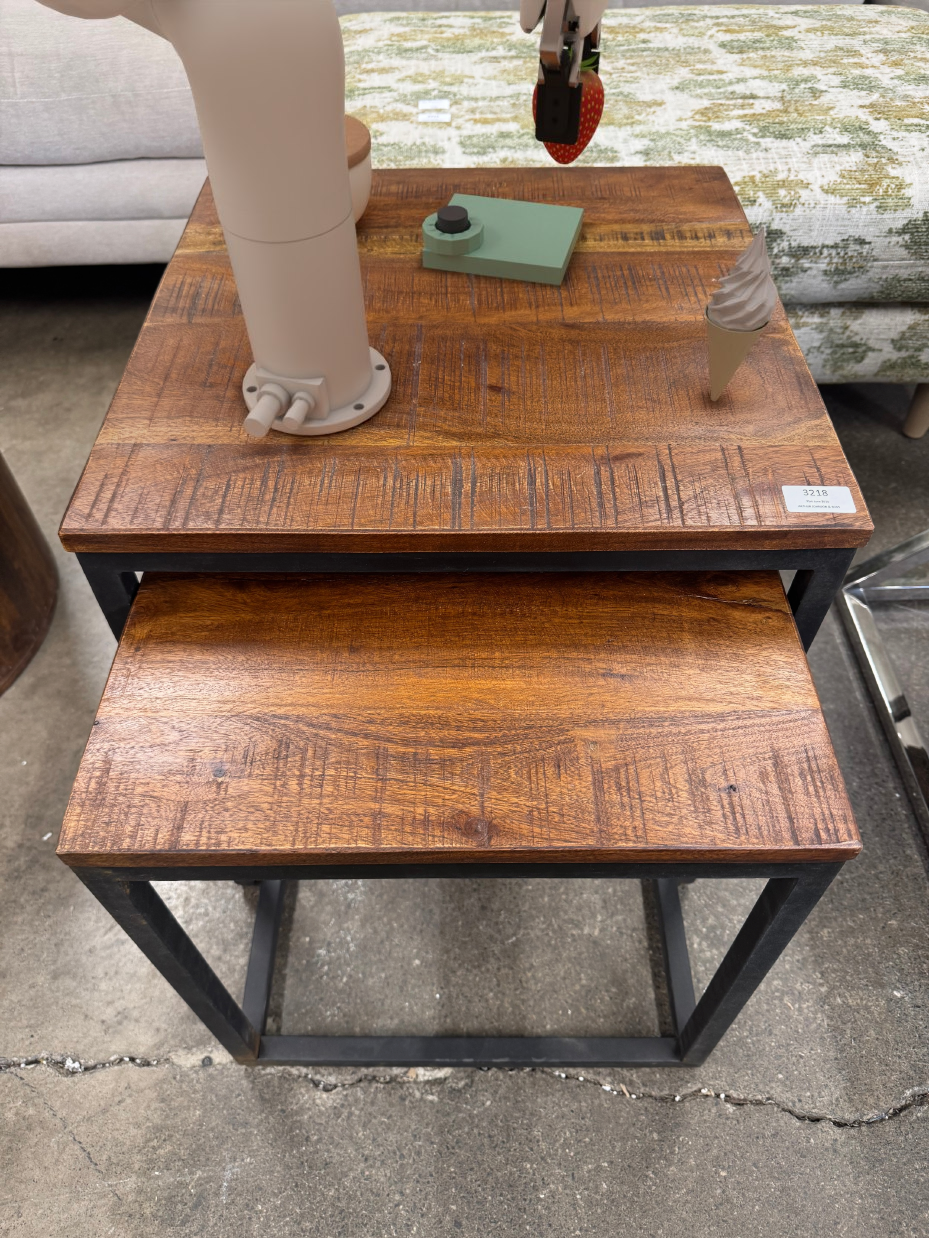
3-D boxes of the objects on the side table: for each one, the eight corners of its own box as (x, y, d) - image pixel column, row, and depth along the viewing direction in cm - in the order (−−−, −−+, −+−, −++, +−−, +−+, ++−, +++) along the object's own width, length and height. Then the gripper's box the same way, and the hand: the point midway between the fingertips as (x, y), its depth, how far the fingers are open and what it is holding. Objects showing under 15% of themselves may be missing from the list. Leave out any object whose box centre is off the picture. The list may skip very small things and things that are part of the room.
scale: (559, 288, 82) (562, 254, 79) (417, 269, 84) (415, 235, 82) (582, 226, 89) (585, 192, 87) (450, 210, 92) (450, 177, 89)
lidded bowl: (271, 199, 94) (250, 88, 85) (384, 199, 93) (374, 89, 85) (249, 258, 86) (223, 144, 77) (372, 259, 86) (360, 144, 77)
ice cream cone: (734, 425, 69) (787, 250, 57) (675, 407, 71) (715, 232, 59) (752, 391, 72) (807, 217, 60) (695, 374, 73) (737, 201, 62)
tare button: (463, 237, 82) (463, 222, 81) (434, 234, 83) (433, 218, 81) (471, 222, 84) (471, 207, 83) (442, 219, 84) (441, 203, 83)
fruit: (527, 175, 65) (532, 58, 59) (531, 145, 69) (536, 31, 62) (597, 178, 65) (609, 60, 59) (598, 147, 68) (610, 32, 62)
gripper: (560, -230, 56) (544, 77, 70) (487, -174, 46) (487, 169, 60) (673, -226, 54) (634, 86, 69) (624, -169, 45) (590, 182, 59)
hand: (565, 122), depth 65 cm, fingers closed on fruit, 5 cm apart
